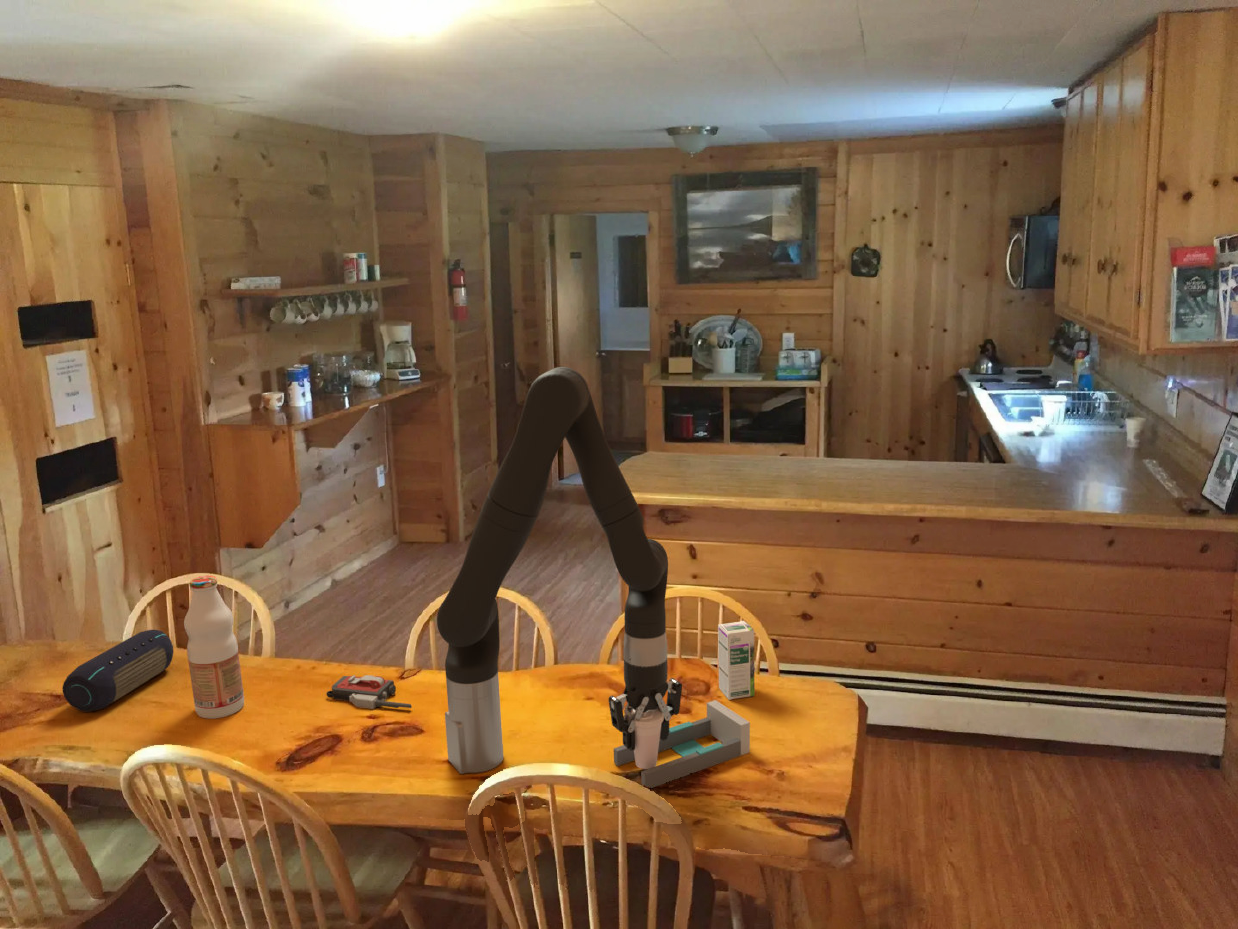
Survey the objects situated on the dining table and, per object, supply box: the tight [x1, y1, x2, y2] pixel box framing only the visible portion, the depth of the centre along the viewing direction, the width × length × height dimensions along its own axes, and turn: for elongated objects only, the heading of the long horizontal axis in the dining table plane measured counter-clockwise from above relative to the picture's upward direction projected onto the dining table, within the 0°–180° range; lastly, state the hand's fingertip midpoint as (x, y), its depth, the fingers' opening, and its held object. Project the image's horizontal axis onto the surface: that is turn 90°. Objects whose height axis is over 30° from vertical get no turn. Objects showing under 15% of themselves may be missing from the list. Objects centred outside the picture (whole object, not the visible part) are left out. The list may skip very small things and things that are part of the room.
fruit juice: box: [183, 575, 245, 719], centre depth 201 cm, size 9×9×28 cm
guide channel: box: [613, 699, 751, 789], centre depth 180 cm, size 22×11×6 cm, turn 121°
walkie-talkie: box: [326, 674, 412, 710], centre depth 207 cm, size 9×4×20 cm
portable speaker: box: [61, 629, 174, 712], centre depth 213 cm, size 25×10×10 cm, turn 165°
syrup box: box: [717, 620, 755, 701], centre depth 204 cm, size 6×6×14 cm
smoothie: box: [628, 709, 664, 770], centre depth 175 cm, size 6×6×14 cm
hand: (646, 743), depth 176 cm, fingers closed on smoothie, 6 cm apart
